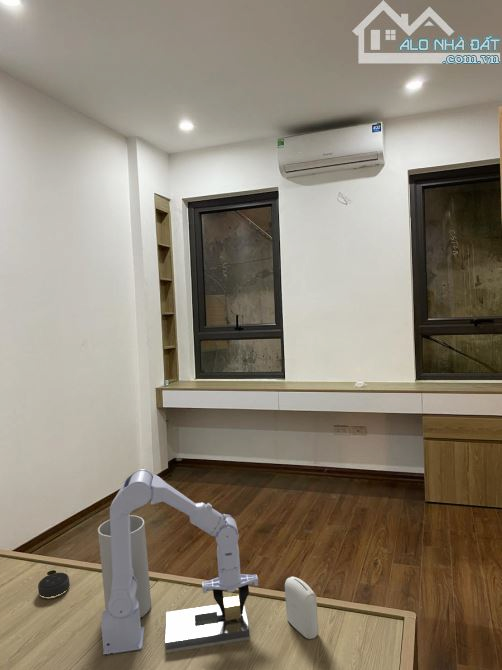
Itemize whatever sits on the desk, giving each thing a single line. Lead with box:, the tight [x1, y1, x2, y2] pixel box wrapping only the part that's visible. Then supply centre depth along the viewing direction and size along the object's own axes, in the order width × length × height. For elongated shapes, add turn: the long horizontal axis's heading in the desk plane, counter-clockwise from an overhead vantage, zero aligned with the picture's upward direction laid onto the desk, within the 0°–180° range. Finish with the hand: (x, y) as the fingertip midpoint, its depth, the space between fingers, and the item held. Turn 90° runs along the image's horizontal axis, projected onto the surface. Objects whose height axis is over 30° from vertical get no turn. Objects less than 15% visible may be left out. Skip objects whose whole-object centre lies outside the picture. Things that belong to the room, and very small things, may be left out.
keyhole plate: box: [164, 604, 251, 654], centre depth 128 cm, size 21×12×3 cm, turn 98°
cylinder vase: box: [97, 514, 152, 619], centre depth 138 cm, size 12×12×25 cm
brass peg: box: [223, 595, 241, 621], centre depth 129 cm, size 4×4×6 cm
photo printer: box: [284, 576, 319, 640], centre depth 127 cm, size 10×4×12 cm, turn 29°
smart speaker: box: [37, 572, 71, 597], centre depth 150 cm, size 9×9×4 cm
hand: (232, 613), depth 129 cm, fingers closed on brass peg, 4 cm apart
